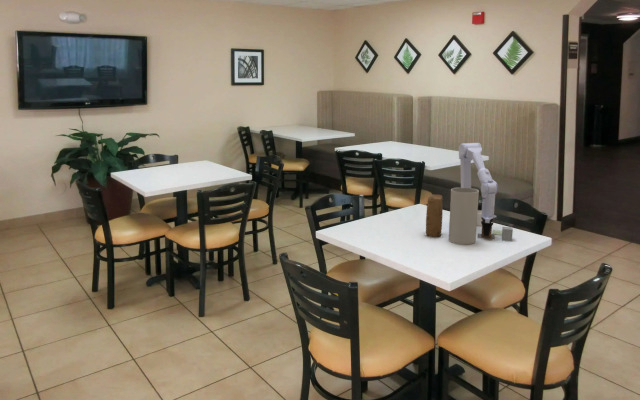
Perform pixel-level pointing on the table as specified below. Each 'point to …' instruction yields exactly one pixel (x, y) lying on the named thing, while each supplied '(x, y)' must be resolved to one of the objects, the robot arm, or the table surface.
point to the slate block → (507, 233)
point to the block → (434, 215)
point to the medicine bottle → (479, 214)
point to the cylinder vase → (463, 215)
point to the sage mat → (497, 232)
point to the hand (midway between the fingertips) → (486, 233)
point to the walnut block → (486, 236)
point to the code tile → (486, 238)
